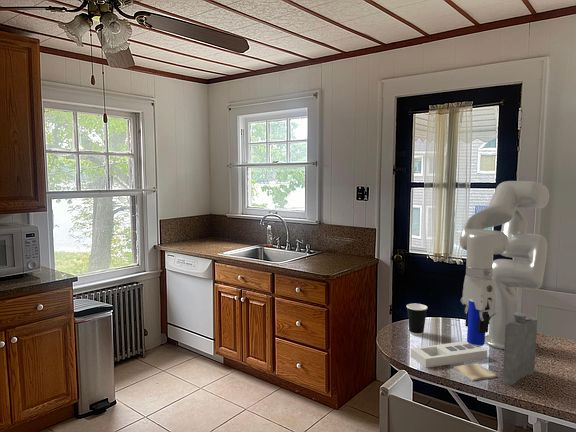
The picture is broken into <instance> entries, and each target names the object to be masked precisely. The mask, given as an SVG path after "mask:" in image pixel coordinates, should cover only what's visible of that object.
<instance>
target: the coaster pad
mask: <svg viewBox="0 0 576 432" xmlns="http://www.w3.org/2000/svg"><path fill="white" fill-rule="evenodd" d="M453 369H455V371H457V372H458V373H460V374H461V375H463V376H465V377H466V378H468V379H469V380H470V381H472V382H474V381H475V382H476V381H479V380H486V379H493V378H497V377H498V375H497V374H496V373H494V372H493V371H491V370H489V369H488V368H486V367H484V366H483V365H481V364H479V363H478V362H477V363H469V364H462V365H456V366H453Z"/></svg>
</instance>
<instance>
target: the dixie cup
mask: <svg viewBox="0 0 576 432" xmlns="http://www.w3.org/2000/svg"><path fill="white" fill-rule="evenodd" d="M406 308H407V317H408V318H407V320H408V330H409V334H410V335H411V334H412V335H411V336H416V337H419V336H423V334H424V332H425V331H424V330H425V324H426V317H427V310H428V309H429V308H428V306H427V305H425V304H421V303H408V304H406Z"/></svg>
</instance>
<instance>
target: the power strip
mask: <svg viewBox="0 0 576 432" xmlns="http://www.w3.org/2000/svg"><path fill="white" fill-rule="evenodd" d="M410 358H412V359H413V360H414V361H416V362H417V363H418V364H420V365H421V366H422V367H424V368H426V369H427V368H433V367H440V366H446V365H454V364H455V365H456V364H461V363H467V362H473V361H480V360H481V361H482V360H486V359H488V349H485V348H484V347H483V346H480V347H477V346H472V345H470V344H468V342H467V340H464V341H456V342H449V343H448V342H447V343H440V344H433V345H425V346H419V347H418V346H417V347H410Z"/></svg>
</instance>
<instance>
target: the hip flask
mask: <svg viewBox="0 0 576 432" xmlns="http://www.w3.org/2000/svg"><path fill="white" fill-rule="evenodd" d="M513 316H514V321H512V322H510V323H508V324H507V325H506V327H505V347H504V349H503V350H504V351H503V352H504V353H503V372H502V382H503V383H504V384H505V385H507V386H513V385H515V384H516V383H517V382H518V381H520V379H522V378H524V377H527V376H528V375H531V374H534V373H535V366H536V351H537V348H536V347H537V332H538V318H537V317H534V316H528V315H527V314H525V313H523V312H519V313H514V314H513Z"/></svg>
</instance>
